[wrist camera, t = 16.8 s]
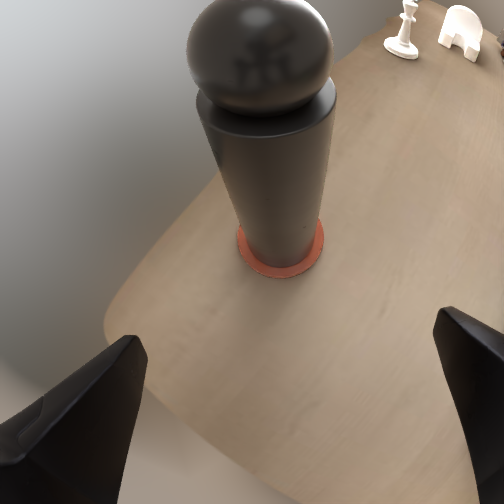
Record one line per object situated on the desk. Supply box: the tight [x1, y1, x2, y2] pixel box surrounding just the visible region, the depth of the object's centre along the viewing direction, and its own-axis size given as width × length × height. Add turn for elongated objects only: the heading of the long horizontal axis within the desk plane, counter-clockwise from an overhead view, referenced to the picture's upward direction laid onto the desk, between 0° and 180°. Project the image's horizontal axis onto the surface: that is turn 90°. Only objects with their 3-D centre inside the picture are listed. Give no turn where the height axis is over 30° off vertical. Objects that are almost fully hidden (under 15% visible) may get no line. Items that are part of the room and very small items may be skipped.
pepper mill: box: [186, 0, 337, 268], centre depth 12 cm, size 5×5×16 cm
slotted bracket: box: [438, 6, 483, 62], centre depth 25 cm, size 13×7×8 cm, turn 145°
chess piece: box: [384, 0, 418, 59], centre depth 22 cm, size 5×5×10 cm
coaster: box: [238, 218, 324, 278], centre depth 20 cm, size 6×6×1 cm
